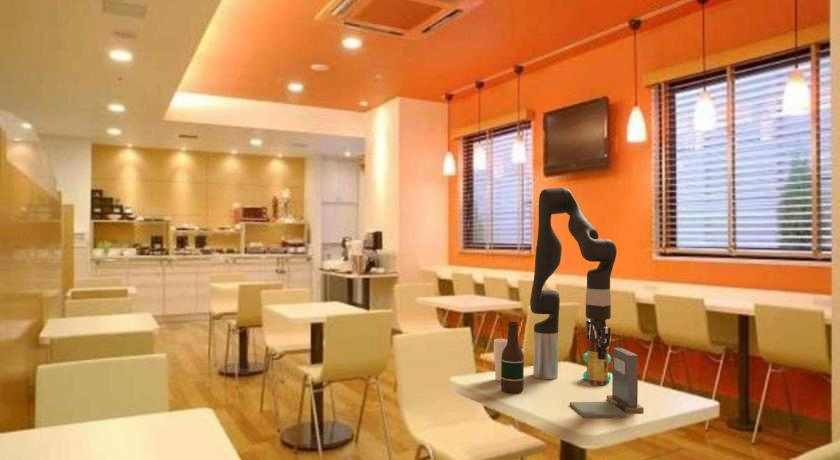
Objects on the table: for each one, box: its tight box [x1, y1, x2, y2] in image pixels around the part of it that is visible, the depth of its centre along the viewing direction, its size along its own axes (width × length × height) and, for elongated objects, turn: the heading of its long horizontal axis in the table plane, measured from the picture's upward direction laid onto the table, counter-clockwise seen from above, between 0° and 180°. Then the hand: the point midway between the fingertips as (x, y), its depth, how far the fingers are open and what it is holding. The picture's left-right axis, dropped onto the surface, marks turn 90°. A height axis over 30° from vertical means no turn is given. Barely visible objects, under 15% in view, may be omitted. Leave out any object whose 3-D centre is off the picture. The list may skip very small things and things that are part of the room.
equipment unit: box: [606, 347, 644, 414], centre depth 189 cm, size 14×6×18 cm, turn 5°
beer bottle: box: [500, 321, 525, 395], centre depth 205 cm, size 8×8×24 cm
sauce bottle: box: [586, 319, 609, 387], centre depth 183 cm, size 6×6×20 cm
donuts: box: [582, 352, 612, 383], centre depth 222 cm, size 10×10×10 cm
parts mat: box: [569, 401, 627, 419], centre depth 183 cm, size 13×13×1 cm
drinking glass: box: [493, 338, 508, 382], centre depth 220 cm, size 7×7×15 cm
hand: (597, 356), depth 183 cm, fingers closed on sauce bottle, 6 cm apart
